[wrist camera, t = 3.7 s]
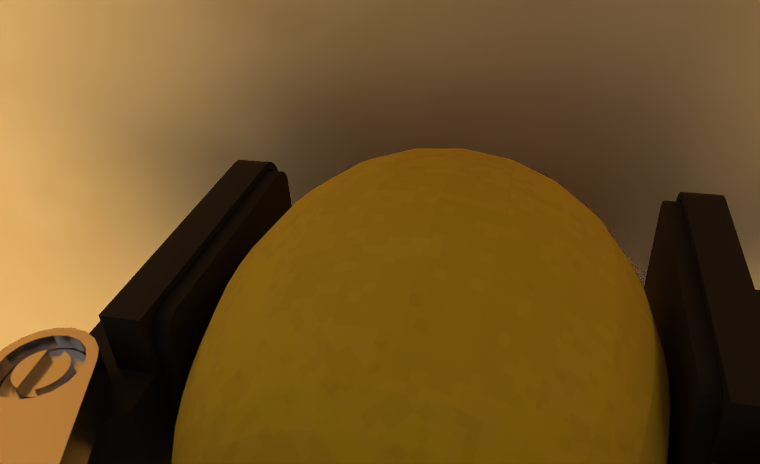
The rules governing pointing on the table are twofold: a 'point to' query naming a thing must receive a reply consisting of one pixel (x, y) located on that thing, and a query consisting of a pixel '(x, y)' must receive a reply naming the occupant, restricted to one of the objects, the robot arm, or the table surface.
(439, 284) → the lemon
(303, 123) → the table surface
